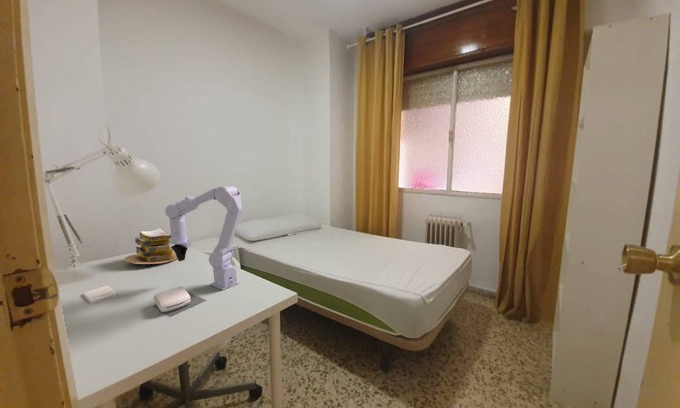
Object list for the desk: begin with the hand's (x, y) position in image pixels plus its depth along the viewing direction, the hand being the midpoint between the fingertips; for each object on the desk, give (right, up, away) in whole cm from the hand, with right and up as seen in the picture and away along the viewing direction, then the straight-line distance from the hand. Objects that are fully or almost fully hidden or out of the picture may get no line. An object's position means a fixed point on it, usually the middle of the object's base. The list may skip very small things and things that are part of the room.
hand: (181, 260), depth 117 cm
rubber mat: (+10, -13, -17) cm, 23 cm away
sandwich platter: (-34, -7, +29) cm, 45 cm away
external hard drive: (-27, -13, -10) cm, 32 cm away
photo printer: (+3, -10, -14) cm, 17 cm away
